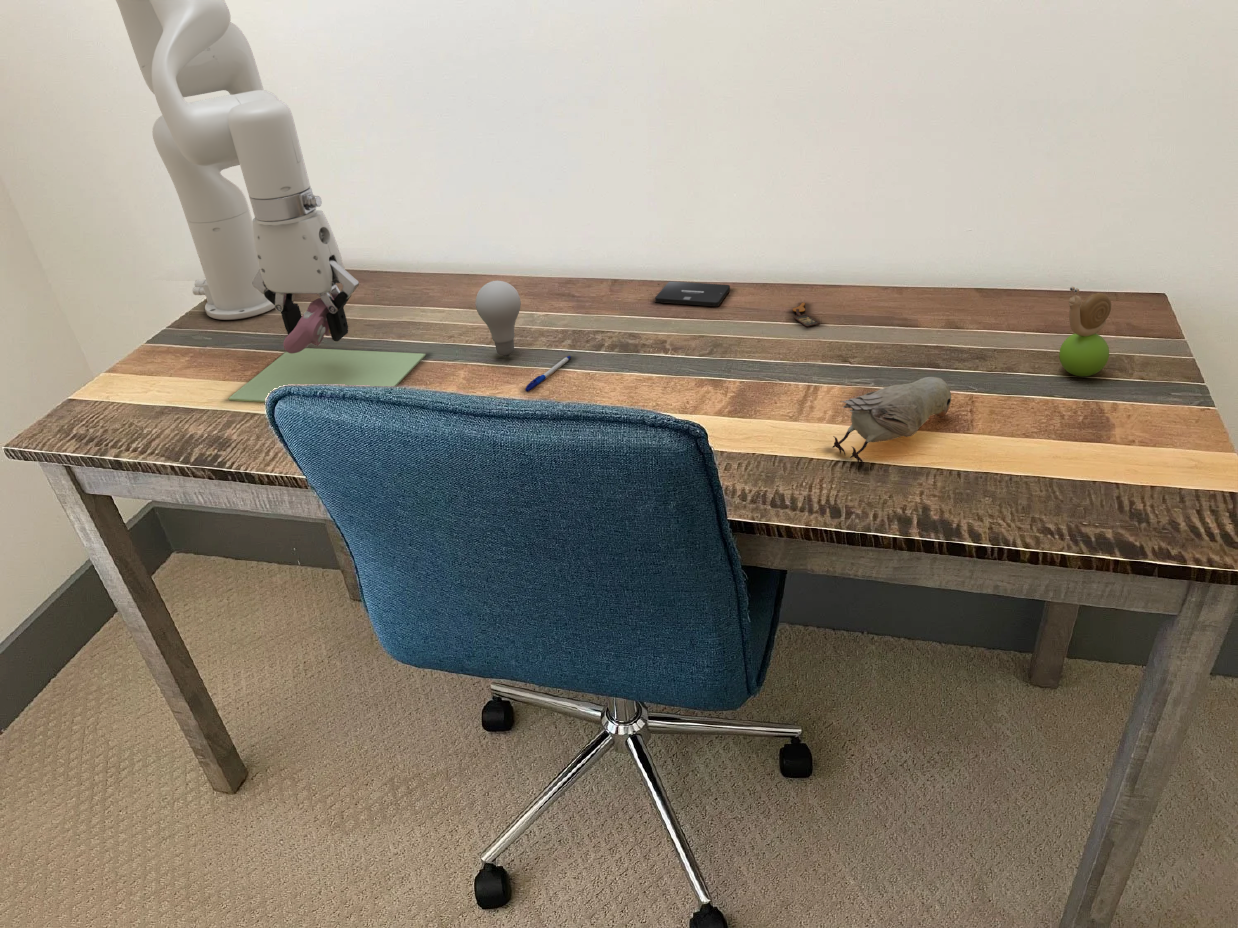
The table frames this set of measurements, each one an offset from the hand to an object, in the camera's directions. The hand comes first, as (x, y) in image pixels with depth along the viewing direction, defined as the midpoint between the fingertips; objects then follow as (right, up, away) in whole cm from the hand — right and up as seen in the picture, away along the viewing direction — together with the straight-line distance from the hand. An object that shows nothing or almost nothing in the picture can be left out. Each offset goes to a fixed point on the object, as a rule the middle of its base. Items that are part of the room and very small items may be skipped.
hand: (318, 335), depth 131 cm
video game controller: (0, -1, +1) cm, 1 cm away
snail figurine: (+97, -7, -13) cm, 98 cm away
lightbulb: (+25, -3, +5) cm, 26 cm away
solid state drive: (+52, +8, +17) cm, 56 cm away
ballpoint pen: (+31, -6, -1) cm, 32 cm away
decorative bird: (+72, -15, -22) cm, 77 cm away
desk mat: (0, -5, +3) cm, 6 cm away
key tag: (+68, +4, +8) cm, 68 cm away
